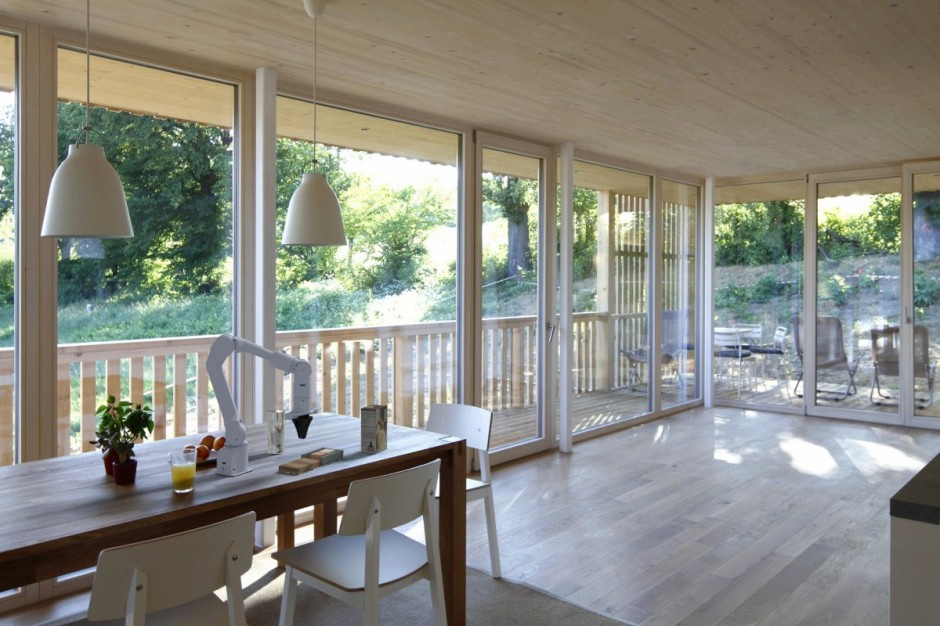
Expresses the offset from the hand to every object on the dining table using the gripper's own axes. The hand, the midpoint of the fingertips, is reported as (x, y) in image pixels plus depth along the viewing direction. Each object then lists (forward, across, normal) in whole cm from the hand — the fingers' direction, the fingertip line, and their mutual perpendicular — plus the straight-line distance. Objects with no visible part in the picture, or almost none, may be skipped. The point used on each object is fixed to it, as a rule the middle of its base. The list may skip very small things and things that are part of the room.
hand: (302, 438), depth 240 cm
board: (+10, -1, 0) cm, 10 cm away
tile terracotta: (+9, +9, 0) cm, 13 cm away
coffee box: (+10, +32, -7) cm, 34 cm away
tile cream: (+9, +13, 0) cm, 16 cm away
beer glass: (+10, +13, +22) cm, 27 cm away
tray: (+10, +11, 0) cm, 15 cm away
